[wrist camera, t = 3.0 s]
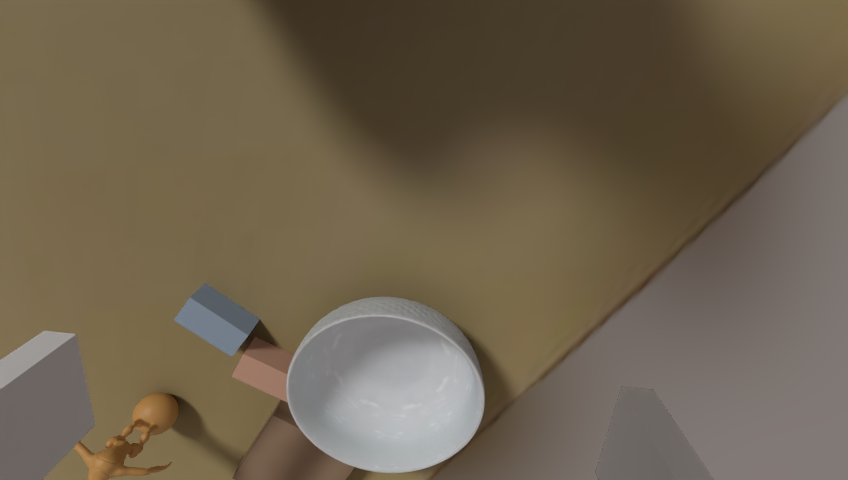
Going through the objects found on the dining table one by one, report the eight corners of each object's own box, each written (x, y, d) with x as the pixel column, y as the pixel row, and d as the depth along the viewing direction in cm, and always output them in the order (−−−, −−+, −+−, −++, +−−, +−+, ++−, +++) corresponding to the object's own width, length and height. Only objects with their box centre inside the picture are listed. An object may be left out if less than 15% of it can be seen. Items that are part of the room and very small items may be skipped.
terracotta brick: (244, 357, 45) (231, 376, 42) (255, 335, 44) (243, 353, 41) (298, 382, 46) (289, 403, 43) (311, 362, 45) (302, 381, 42)
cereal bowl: (273, 350, 44) (244, 400, 38) (385, 238, 40) (374, 273, 33) (398, 445, 48) (392, 504, 42) (514, 353, 44) (528, 404, 37)
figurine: (123, 396, 47) (24, 499, 36) (139, 354, 45) (40, 450, 34) (198, 428, 48) (126, 538, 37) (217, 389, 46) (147, 492, 35)
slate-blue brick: (190, 303, 43) (173, 320, 40) (206, 282, 42) (189, 297, 39) (244, 338, 44) (231, 356, 41) (260, 318, 43) (248, 335, 40)
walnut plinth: (243, 455, 50) (232, 478, 47) (283, 394, 47) (273, 415, 44) (322, 492, 52) (316, 516, 49) (366, 436, 48) (361, 459, 46)
